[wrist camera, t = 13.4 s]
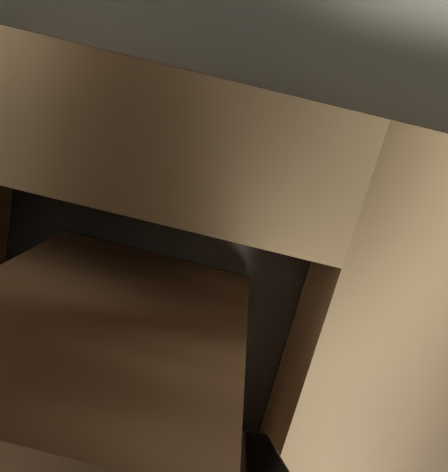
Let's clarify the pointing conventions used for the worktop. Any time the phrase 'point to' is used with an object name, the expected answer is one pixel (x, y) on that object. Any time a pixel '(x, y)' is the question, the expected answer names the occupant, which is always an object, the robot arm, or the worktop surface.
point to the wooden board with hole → (265, 227)
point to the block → (119, 361)
